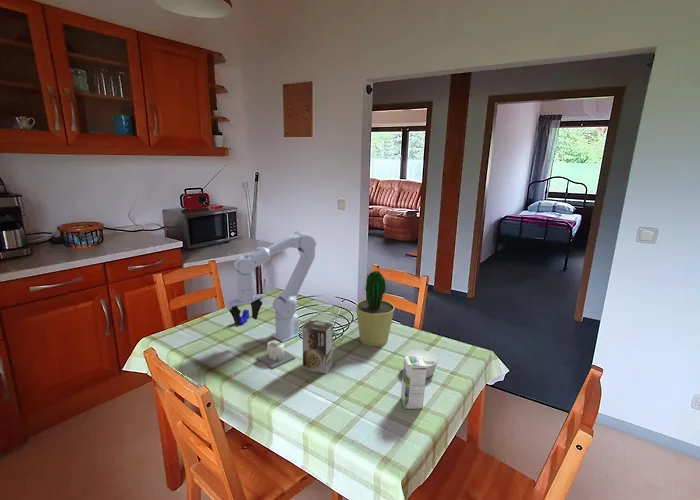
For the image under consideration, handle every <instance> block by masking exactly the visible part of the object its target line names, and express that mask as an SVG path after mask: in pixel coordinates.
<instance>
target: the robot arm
mask: <svg viewBox="0 0 700 500" xmlns="http://www.w3.org/2000/svg"><path fill="white" fill-rule="evenodd" d="M316 246H317V242H316V240H315V237H314V236H313V235H312V234H309V233H307V232H304V231H302V230H296V231H294V232H291V233H289V234H288V235H287V236H285V237H283V238H282V239H279V240H278V241H277V242H275V243H273V244H271V245H270V246H268V247H264V246H261V247H260V246H258V247H256V249H255V250H253V251H251V252H249V253H245V254H244V255H241V256H238V257H236V259H235V260H234V261H233V265H232V266H233V268H234V269H235V277H236V278H235V279H236V280H235V281H236V282H235V284H236V298H235V299H234V300H232V301H230V302H227V303H226V309H227V310H228V311H229V313H230V314H231V316H232V318H233V321H234V325H236V326H241V325H240V319H239V317H240V315H241V309H239V307H241V306H244V305H249V304H250V305H251V306H250V307H251V317H252V319H253V320H258V316H259V311H260V309H261V307H262V305H263V300H264V294H261V293H258V294H253V293H254V292H253V291H254V290H253V275H252V273H253V271H254V269H255V268H257V267H260V266H261V265H264V264H265V263H267V262H269V261H270V260H271V257H272V256H274V255H276V254H278V253H280V252H282V251H284V250H287V249H290V248H292V249H293V248H294V249H297V250H298V254H299V255H300V257H299V258H298V260H297V263H296V265H295V267H294V269H293V272H292V274H291V275H290V277H289V280H288V282H287V284H286V286H285V288H284V290H283V291H281V292H280V293H278V296H277V297H276V298H275V299H274V300H273V302H272V308H273V310H274V311H275V314H274V326H275V329H274V330H275V331H274V333H271V334H270V336H271V337H273V338H274V339H277V341H279V342H286V341H288V340H290V339H293V338H296V337H298V336H300V335H299V334H298V332H299V333H300V318H299V315H298V314H297V313H296V309H297V308H296V307H297V304H298V300H297V296H298V295H299V294H298V293H299V292H300V290H301V287H302V286H303V283H304V281H305V279H306V277H307V275H308V273H309V270H310V269H311V267H312V265H313V262H314V259H315V258H316Z"/></svg>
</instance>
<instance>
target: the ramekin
mask: <svg viewBox="0 0 700 500" xmlns="http://www.w3.org/2000/svg"><path fill="white" fill-rule="evenodd" d="M405 356H421V357H423V359H424V361H425V364H426V366H427V370H426V379H427V378H430V377H431V376H433V374H434V372H435V371H436V366H437V364H438V358H437V356H436V355H435V354H433V353H432V352H430V351H427V350H423V349H412V350H409V351H408V352H406V353H405ZM405 356H404V357H405Z"/></svg>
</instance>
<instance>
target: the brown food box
mask: <svg viewBox="0 0 700 500" xmlns="http://www.w3.org/2000/svg"><path fill="white" fill-rule="evenodd" d="M333 325H334V324H333V323H329V322H324V321H323V322H322V321H318V320H317V321H316V320H309V321H307V322H306V323H305V324H304V325H303V326H302V327H301V330H302V331H301V333H302V337H301V338H302V369H303V370H306V371H311V372H316V373H320V374H324V375H326V374H327V373H329V371H330V369H331V368H332V367H333V338H334V337H333V332H334V331H333V329H334V328H333V327H334V326H333Z"/></svg>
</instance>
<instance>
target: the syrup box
mask: <svg viewBox="0 0 700 500" xmlns="http://www.w3.org/2000/svg"><path fill="white" fill-rule="evenodd" d="M426 370H427V366H426V364H425V361H424V359H423V357H421V356H404V358H403V369H402V380H401V381H402V382H401V393H400V397H401V402H402V405H403V408H404V409H405V410H410V409H411V410H414V409H415V410H416V409H423V408H424V400H425V399H424V398H425V388H426V382H427V380H426V379H427V378H426Z"/></svg>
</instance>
